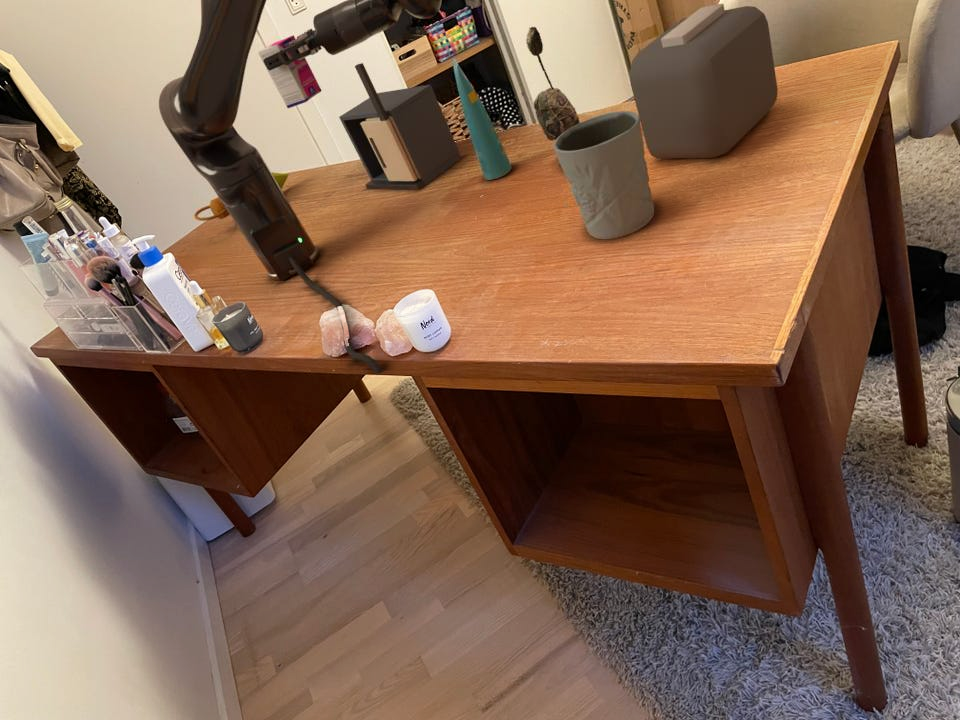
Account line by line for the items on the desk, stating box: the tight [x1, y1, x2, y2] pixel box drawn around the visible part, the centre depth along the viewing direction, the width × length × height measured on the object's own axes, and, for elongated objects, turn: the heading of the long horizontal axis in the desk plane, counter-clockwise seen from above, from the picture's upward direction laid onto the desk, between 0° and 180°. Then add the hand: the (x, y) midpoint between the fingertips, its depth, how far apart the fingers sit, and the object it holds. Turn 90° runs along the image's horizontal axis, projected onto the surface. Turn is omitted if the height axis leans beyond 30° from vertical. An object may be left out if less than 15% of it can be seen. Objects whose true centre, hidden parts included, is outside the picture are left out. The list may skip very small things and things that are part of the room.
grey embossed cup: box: [552, 110, 655, 240], centre depth 82 cm, size 10×10×12 cm
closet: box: [338, 84, 463, 191], centre depth 130 cm, size 12×18×14 cm, turn 44°
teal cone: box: [452, 56, 512, 181], centre depth 111 cm, size 7×5×19 cm, turn 13°
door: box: [354, 62, 417, 181], centre depth 123 cm, size 1×9×22 cm, turn 44°
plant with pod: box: [525, 26, 581, 168], centre depth 102 cm, size 8×11×20 cm
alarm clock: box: [629, 3, 779, 160], centre depth 89 cm, size 16×11×16 cm
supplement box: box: [257, 35, 322, 109], centre depth 136 cm, size 6×6×12 cm
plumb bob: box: [193, 171, 289, 222], centre depth 155 cm, size 9×9×25 cm
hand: (272, 60), depth 135 cm, fingers closed on supplement box, 7 cm apart
